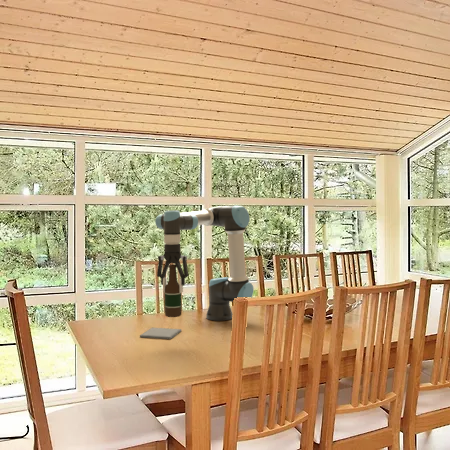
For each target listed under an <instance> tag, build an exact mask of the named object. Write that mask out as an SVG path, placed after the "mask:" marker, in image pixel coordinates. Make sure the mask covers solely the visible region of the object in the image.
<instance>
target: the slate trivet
mask: <svg viewBox="0 0 450 450" xmlns="http://www.w3.org/2000/svg"><path fill="white" fill-rule="evenodd" d="M181 332H182V329H181V328H165V327H150V328H149V329H147V330H146V331H144V332H143V333H141V334H140V335H139V338H144V339H158V340H159V339H161V340H162V339H163V340H172V339H174V337H176V336H177V335H179V334H180V333H181Z"/></svg>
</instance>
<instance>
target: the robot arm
mask: <svg viewBox="0 0 450 450" xmlns="http://www.w3.org/2000/svg"><path fill="white" fill-rule="evenodd" d="M154 220H155V221H154V223H155V226H156V227H157V228H158V229H159V230H163V235H164V237H163V238H164V239H163V243H164V245H163V246H164V247H163V248H164V249H163V250H164V254H163V255H158V256H157V259H158V264H157V272H156V276H157V277H159V278H160V284H161V286H162V293H165V288H166V285H167V283H168V282H167V277H166V274H167V272H168V270H169V265H171V264H172V265H176V266H177V267H176V270H177V271H178V273H179V277H180V278H179V279H178V281H179V282H178V283H179V285H180V293H181V294H182V293H183V292H184V286H185V284H186V281H185V280H186V278H188V277H189V275H190V274H189V268H188V263H187V262H188V261H187V259H188V256H187V255H182V254H181V244H180V243H181V231H190V230H194V229H196V228H197V227H198V226H202V225H203V226H205V227H206V226H207V227H208V226H211V227H212V226H213V227H221V228H224V232H225V233H227V244H228V260H229V261H228V263H229V275H230V276H227V277H226V276H225V277H217V278H211V279H210V280H209V284H208V294H209V297H208V298H209V300H208V302H209V303H208V307H207V311H206V315H205V316H206V317H205V318H206V319H207V320H209V321H215V322H216V321H217V322H218V321H229V320H230V321H231V320H232V319H233V318H232V315H233V311H232V308H231V305H230V302H231V303H234V302H233V300H234V298H237V297H251V298H252V297H253V295H254V284H253V283H252V282H249V276H247V275H246V261H245V258H246V256H245V245H244V243H245V242H244V241H245V239H244V233H245V231H246V227H248V226H249V224H250V213H249V211H248V209H246V207H245V206H243V205H219V206H212V207H208V208H203V209H201V210H196V211H185V212H180V210H165V211H164V213H161V214H158V215H156V217H155V219H154ZM164 260H165V263H164ZM180 260H181V261H182V265H181V262H180ZM163 263H164V265H163ZM163 266H164V267H163ZM182 266H183V267H182Z"/></svg>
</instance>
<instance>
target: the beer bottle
mask: <svg viewBox="0 0 450 450" xmlns="http://www.w3.org/2000/svg"><path fill="white" fill-rule="evenodd" d="M164 315H165V317H167V318H178V317H181V316H182V293H180V285H179V282H178V275H177V266H176V265H175V264H169V267H168V282H167V285H166V288H165V292H164Z"/></svg>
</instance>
